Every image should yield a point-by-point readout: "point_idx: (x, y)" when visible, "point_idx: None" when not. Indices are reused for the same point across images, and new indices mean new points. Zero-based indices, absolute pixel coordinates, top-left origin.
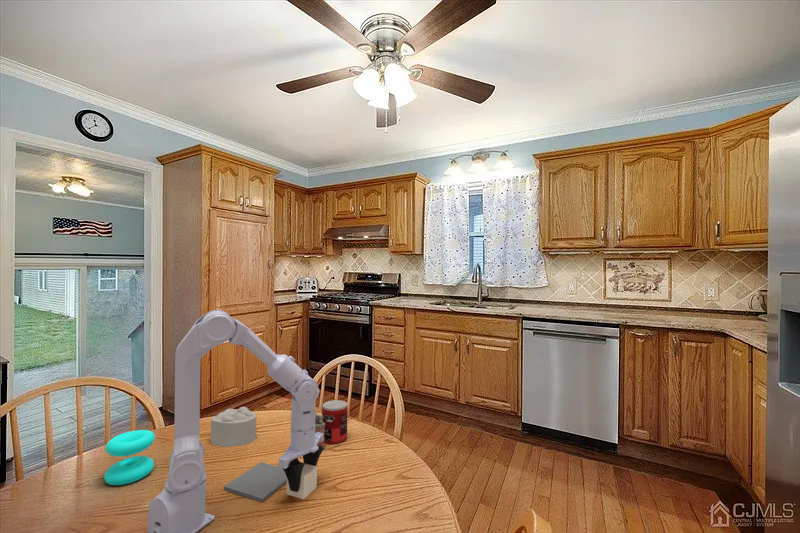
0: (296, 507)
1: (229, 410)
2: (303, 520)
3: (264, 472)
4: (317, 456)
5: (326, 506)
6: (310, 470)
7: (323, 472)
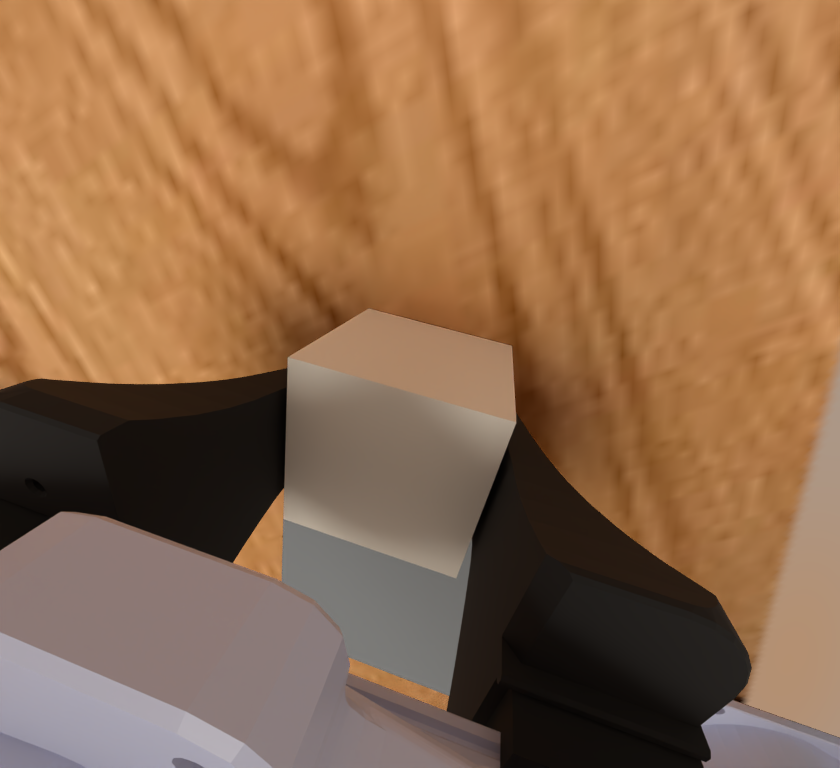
0: (603, 362)
1: None
2: (782, 248)
3: (344, 605)
4: (189, 408)
5: (590, 116)
6: (375, 400)
7: (214, 325)
